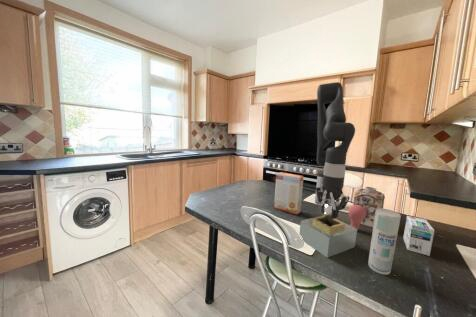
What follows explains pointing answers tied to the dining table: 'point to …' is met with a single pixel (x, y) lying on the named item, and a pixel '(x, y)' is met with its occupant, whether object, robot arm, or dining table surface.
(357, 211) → the light bulb
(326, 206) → the pellet
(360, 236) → the dining table surface
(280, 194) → the cracker box
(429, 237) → the light bulb box
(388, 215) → the spray can
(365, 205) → the decorative jar
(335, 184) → the robot arm
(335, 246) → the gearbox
